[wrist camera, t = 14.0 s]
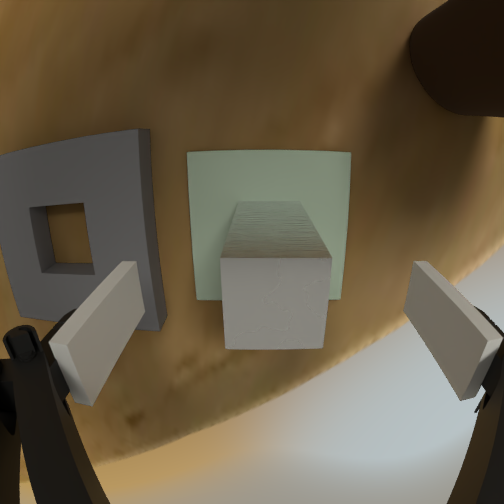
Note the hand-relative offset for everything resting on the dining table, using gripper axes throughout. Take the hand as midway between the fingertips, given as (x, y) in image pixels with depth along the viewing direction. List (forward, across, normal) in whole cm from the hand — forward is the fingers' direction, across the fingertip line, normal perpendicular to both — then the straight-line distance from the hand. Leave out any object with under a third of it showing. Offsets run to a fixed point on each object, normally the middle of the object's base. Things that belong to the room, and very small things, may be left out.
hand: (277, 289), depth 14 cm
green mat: (+11, 0, 0) cm, 11 cm away
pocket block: (+11, -17, 0) cm, 20 cm away
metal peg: (+10, 0, 0) cm, 10 cm away
